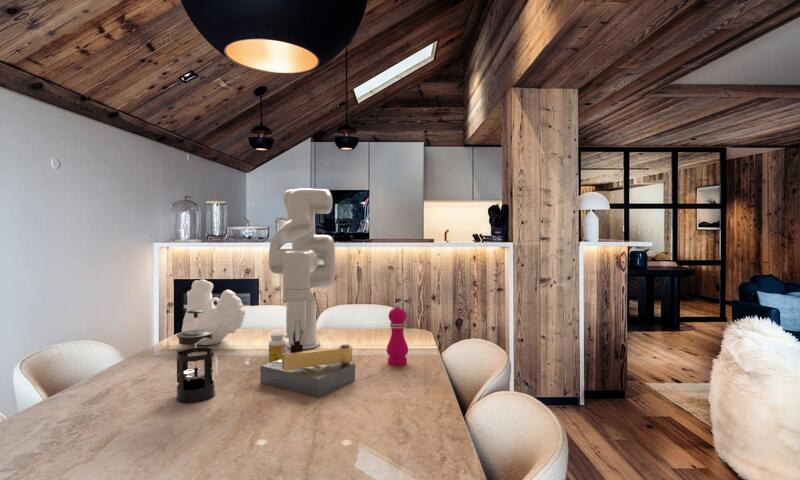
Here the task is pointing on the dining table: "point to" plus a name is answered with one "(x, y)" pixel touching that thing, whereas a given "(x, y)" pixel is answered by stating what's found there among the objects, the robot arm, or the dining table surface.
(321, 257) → the robot arm
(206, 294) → the decorative rooster
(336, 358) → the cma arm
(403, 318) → the pepper mill
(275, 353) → the supplement bottle
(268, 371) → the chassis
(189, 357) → the french press
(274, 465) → the dining table surface
